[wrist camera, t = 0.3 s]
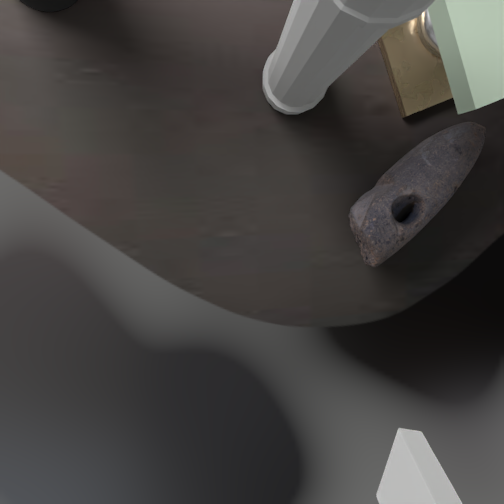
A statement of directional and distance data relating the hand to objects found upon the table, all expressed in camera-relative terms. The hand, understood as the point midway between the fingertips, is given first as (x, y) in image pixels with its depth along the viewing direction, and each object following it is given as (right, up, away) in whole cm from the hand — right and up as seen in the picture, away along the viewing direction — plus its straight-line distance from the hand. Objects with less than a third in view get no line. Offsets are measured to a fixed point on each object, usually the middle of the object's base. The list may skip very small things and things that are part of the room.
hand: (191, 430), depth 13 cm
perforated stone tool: (+16, +12, +26) cm, 32 cm away
